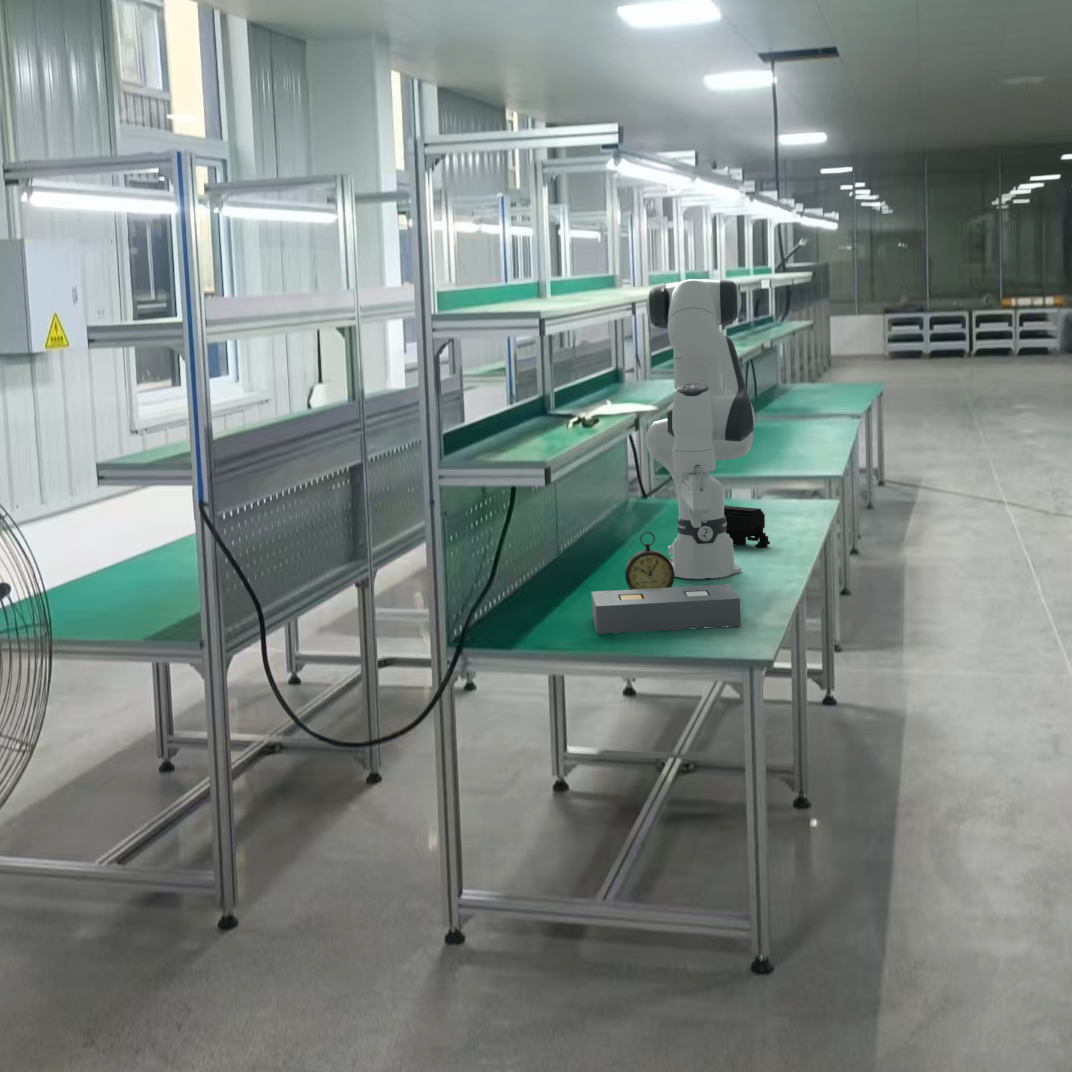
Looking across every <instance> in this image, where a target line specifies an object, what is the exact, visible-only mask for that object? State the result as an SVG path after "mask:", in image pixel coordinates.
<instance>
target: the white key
mask: <svg viewBox="0 0 1072 1072" xmlns="http://www.w3.org/2000/svg"><path fill="white" fill-rule="evenodd" d="M685 595H686V597H688V596H707V595H708V594H707V592H706V591H697V592H685Z"/></svg>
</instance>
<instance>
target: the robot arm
mask: <svg viewBox="0 0 1072 1072" xmlns="http://www.w3.org/2000/svg"><path fill="white" fill-rule="evenodd" d="M741 308H742V296H741V293H740V290H739V288H738V287H737V284H736V282H735V281H733V280H729V279H725V278H724V279H722V278H719V280H718V279H717V280H716V279H697V278H691V279H689V278H688V279H685V280H682V281H677V282H672V283H667V284H666V282H665V283H664V282H663V283H660V284H657V285H654V286H652V288H650V289H649V291H648V295H647V298H646V301H645V310H646V314H647V316H648V317H647V318H649V320H650V323H651V324H652V325H653V326H654V327H656V328H659V329H664V330H667V334H668V340H669V345H670V347H671V349H672V350H673V378H674V379H673V380H674V381H673V382H674V392H673V398H672V399H673V400H672V402H671V403H670V404H669V405H668V407H666V417H667V418H663V419H659V420H655V421H653V422H652V423H651V424H650V426H649V427H648V430H647V431H646V435H645V445H646V448H647V451H648V453H649V455H650V456H651V458H653V459H654V460H655V461H656V462H658V463H659V464H661V465H662V467H664V468H665V469H666V470H667V471H668V473H669V475H670V476H671V478H672V480H673V482H674V484H675V489H676V493H677V494H676V495H677V503H678V506H677V508H678V517H677V520H676V521H677V522H676V530H677V533H678V534H677V536H676V538H675V539H673V540H674V541H673V542H672V544H670V545H669V546H668V555H669V556H671V557H670V558H669V561H670V562H671V564H672V566H673V568H674V578H676V577H677V578H681V579H690V580H706V579H705V578H711V579H718V578H719V577H720V578H724V577H729V576H731V575H732V574H737V573H738V574H739V573H742V567H741V566H739V565H737V564H735V552H734V545H733V540H732V539H731V538H730V537H729V534H726V532H725V531H726V530H727V529H726V525H727V521H726V517H725V516H724V506H725V496H724V495H725V494H724V487H723V486H724V485H723V484H722V483H721V481H719V480H718V479H716V478H715V477H714V476H711V474H710V472H713V471H715V470H716V465H717V464H716V461H726V460H727V461H728V460H732V459H736V458H741V457H744V456H746V455H747V454H748V453H749V451H751V448H752V445H753V441H754V428H755V423H756V418H755V417H756V415H755V409H754V406H753V405H752V402H751V399H750V396H749V393H748V391H747V386H746V383H745V379H744V375H743V372H742V368H741V362H740V360H739V357H738V353H737V350H736V347H735V344H734V342H733V340H732V339H731V338H730V337H728V336H726V335H724V333H722V332H721V330H722V331H724V330H725V329H726V327H727V326H729V325H731V324H733V323H734V322H735V321H736V319H737V318H738V316H739V314H740V311H741ZM720 325H721V328H722V329H721V330H720V328H719V326H720ZM721 375H722V377H723V378H722V377H721ZM722 379H723V381H724V385H725V389H726V394H725V392H724V389H723V384H722ZM692 578H693V579H692Z"/></svg>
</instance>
